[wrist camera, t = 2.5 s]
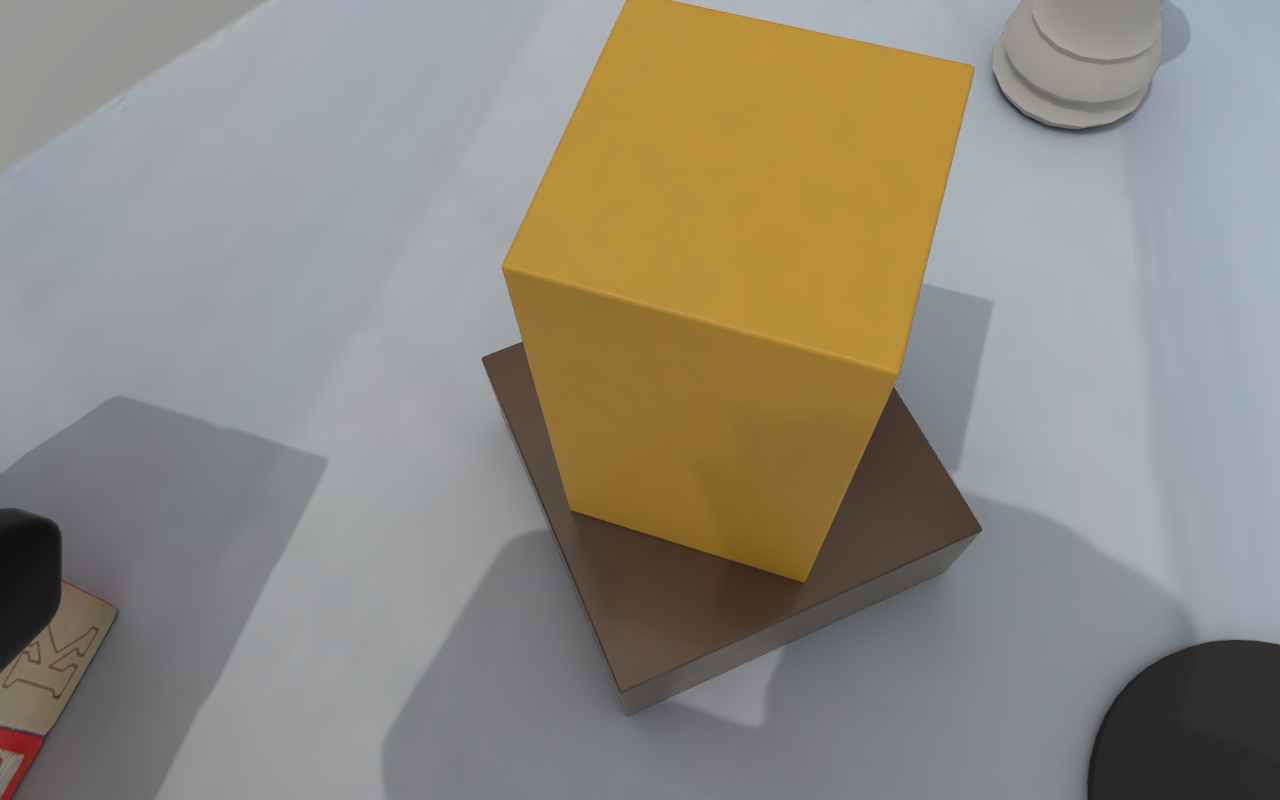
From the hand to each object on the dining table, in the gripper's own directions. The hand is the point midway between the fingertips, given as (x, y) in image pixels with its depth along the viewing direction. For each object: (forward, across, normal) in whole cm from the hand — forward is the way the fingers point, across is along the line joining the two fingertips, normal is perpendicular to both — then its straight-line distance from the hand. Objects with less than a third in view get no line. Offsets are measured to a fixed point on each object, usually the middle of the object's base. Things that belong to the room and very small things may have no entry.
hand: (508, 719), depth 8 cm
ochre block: (+13, 0, +2) cm, 13 cm away
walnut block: (+15, 0, +4) cm, 15 cm away
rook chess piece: (+26, -6, -7) cm, 28 cm away
